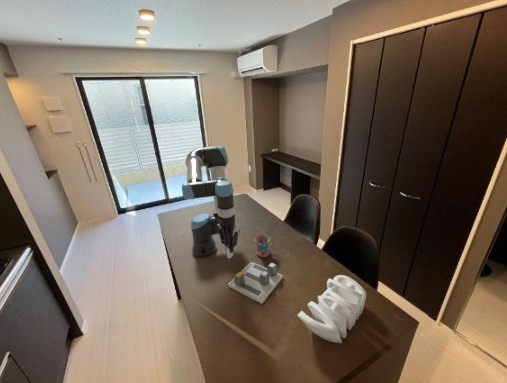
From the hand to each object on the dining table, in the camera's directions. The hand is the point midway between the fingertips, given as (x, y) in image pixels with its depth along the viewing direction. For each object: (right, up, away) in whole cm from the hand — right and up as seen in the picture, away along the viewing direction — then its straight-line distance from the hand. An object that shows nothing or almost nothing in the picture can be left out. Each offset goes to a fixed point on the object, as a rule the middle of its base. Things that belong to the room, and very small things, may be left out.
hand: (230, 256), depth 112 cm
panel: (+13, -14, +5) cm, 20 cm away
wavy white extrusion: (+46, -21, -16) cm, 53 cm away
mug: (+19, -6, +27) cm, 33 cm away
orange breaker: (+5, -14, +1) cm, 14 cm away
